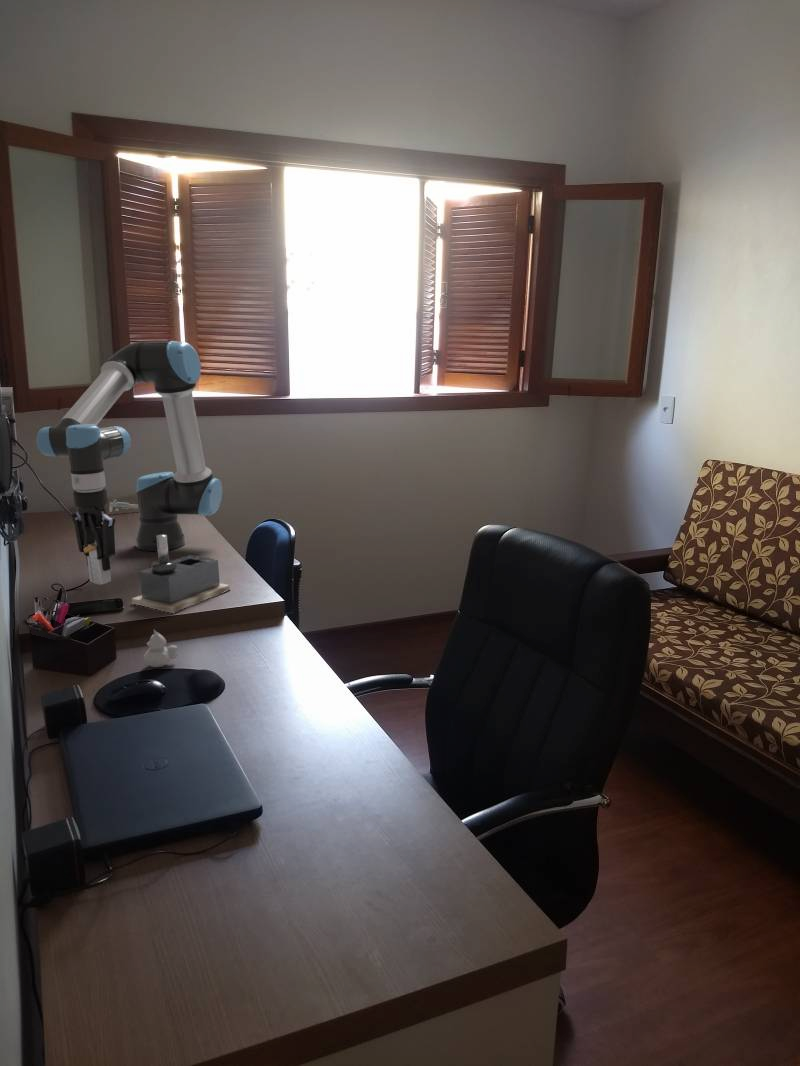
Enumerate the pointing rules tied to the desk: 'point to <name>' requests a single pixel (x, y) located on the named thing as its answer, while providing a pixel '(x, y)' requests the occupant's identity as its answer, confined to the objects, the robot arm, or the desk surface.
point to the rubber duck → (159, 651)
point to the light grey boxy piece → (93, 561)
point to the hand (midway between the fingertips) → (100, 581)
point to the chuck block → (177, 576)
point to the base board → (182, 603)
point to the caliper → (121, 506)
